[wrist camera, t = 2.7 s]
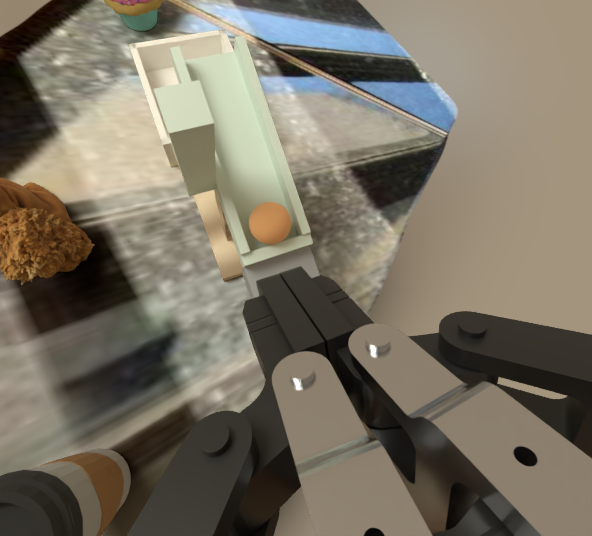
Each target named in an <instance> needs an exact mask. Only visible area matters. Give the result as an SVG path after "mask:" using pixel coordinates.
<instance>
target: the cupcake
mask: <svg viewBox="0 0 592 536" xmlns="http://www.w3.org/2000/svg"><path fill="white" fill-rule="evenodd" d="M104 1H105V3H106V4H107V5H108V6H109V7H110V8H111V9H113V10H114V11H115V12H116V13H118V14H119V15H120V16H121V17H122V19H123V20H124V22H125V23H126V25H127V26H128V27H130V28H131V29H134V30H137V31H146V30H150V29H152V28H153V27H154V26H155V25H156V23H157V11H158V8H159V7H160V5H161V4H162V2H163V0H104Z"/></svg>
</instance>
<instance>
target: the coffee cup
mask: <svg viewBox="0 0 592 536" xmlns="http://www.w3.org/2000/svg"><path fill="white" fill-rule="evenodd" d="M130 484H131V476H130V470H129V467H128V464H127V463H126V461H125V460H124V458H123V457H122V456H121V455H119V454H118V453H117V452H115V451H112V450H109V449H96V450H91V451H88V452H85V453H81V454H76V455H72V456H69V457H66V458H62V459H59V460H56V461H52V462H49V463H46V464H44V465H42V466H40V467H37V468H33V469H30V470H21V471H17V472H12V473H7V474H4V475H2V476H0V536H100V535H101V534H102V532H103V531H104V530H105V529H106V527H107V526H108V524H109V523H110V522H111V520H112V519H113V518H114V516H115V514H116V513H117V511H118V510H119V509H120V507H121V506H122V505H123V503H124V502H125V500H126V497H127V495H128V493H129V489H130Z"/></svg>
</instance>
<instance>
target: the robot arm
mask: <svg viewBox="0 0 592 536" xmlns="http://www.w3.org/2000/svg"><path fill="white" fill-rule="evenodd" d="M256 285H257V289H258V292H259V296H258V297H256V298H253V299H250V300H247V301H245V305H244V309H243V315H244V319H245V322H246V325H247V328H248V331H249V335H250V338H251V341H252V344H253V347H254V350H255V353H256V356H257V358H258V361H259V363H260V366H261V369H262V371H263V374H264V377H265V379H266V382H265V385H264V388H263V390H262V392H261V393H260V395H259V396H258V398H257V399H256V400H255V401H254V402H253V403H252V404H250V405H249V406H248V407H247V408H245V409H244V410H243V411H242V412H240V413H237V412H234V411H220V412H216V413H213V414H211V415H209V416H207V417H205V418H203V419H202V420H201V421H199V422H198V423H197V424H196V425H195V426H194V427H193V428H192V429H191V430H190V432H189V433H188V434H187V436H186V438H185V439H184V441H183V443H182V444H181V446H180V448H179V449H178V451H177V453H176V454H175V456H174V458H173V459H172V461H171V463H170V464H169V466H168V468H167V469H166V471H165V473H164V474H163V476H162V478H161V479H160V481H159V482H158V484H157V486H156V487H155V489H154V491H153V492H152V494H151V496H150V497H149V499H148V501H147V502H146V504H145V506H144V507H143V509H142V511H141V512H140V514H139V516H138V517H137V519H136V521H135V522H134V524H133V526H132V527H131V529H130V531H129V532H128V534H127V536H273V535H274V532H275V528H276V525H277V521H278V518H279V510H280V507H281V506H282V505H283V504H284V503H285V502H286V501H287V500H288V499H289V498H290V497H291V496H292V495H293V494H294V493H295V492H296V491H297V490H298V489H299V488H300V487H302V490H303V494H304V497H305V500H306V504H307V508H308V511H309V515H310V518H311V521H312V525H313V528H314V532H315V536H592V335H590V334H584V333H580V332H574V331H569V330H564V329H559V328H554V327H549V326H543V325H538V324H533V323H528V322H523V321H518V320H512V319H507V318H502V317H496V316H492V315H487V314H481V313H476V312H467V311H463V312H455V313H452V314H449V315H447V316H446V317H444V318H443V319H442V320H441V323H440V325H439V333H435V334H427V335H419V336H407V335H405V334H404V333H403V332H402V331H400V330H399V329H397V328H395V327H393V326H391V325H387V324H380V323H377V324H376V323H374V322H373V321H372V320H371V319H370V318H369V317H368V316H367V315H366V314H365V313H364V312H363V311H362V310H361V309H360V308H359V307H358V306H357V305H356V304H355V302H354V301H353V300H352V299H351V298H349V296H348V295H347V294H346V293H345V292H344V291H342V289H341V288H340V287H339V286H338V285H337V284H336V283H335V281H334V280H331V279H329V278H326V277H324V276H322V275H319V276H316V277H314V278H311V277H310V276H309V275H308V273H307V272H306V271H305V270H304V269H303V268H302V267H301V266H299V267H296V268H293V269H290V270H287V271H284V272H281V273H279V274H275V275H272V276H269V277H266V278H263V279H260V280H257V281H256ZM498 377H501V378H505V379H509V380H513V381H516V382H520V383H524V384H527V385H531V386H534V387H538V388H542V389H546V390H549V391H553V392H556V393H560V394H563V395H567V397H566V398H563V399H549V398H546V397H542V396H539V395H535V394H531V393H528V392H525V391H521V390H517V389H514V388H510V387H507V386H503V385H500V384H497V382H498Z"/></svg>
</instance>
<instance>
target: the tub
mask: <svg viewBox="0 0 592 536" xmlns="http://www.w3.org/2000/svg"><path fill="white" fill-rule="evenodd" d="M129 46H130V49H131V52H132V55H133V58H134V61H135V64H136V67H137V70H138V73H139V76H140V79H141V82H142V85H143V88H144V91H145V93H146V96H147V99H148V102H149V105H150V108H151V111H152V114H153V117H154V120H155V123H156V126H157V129H158V132H159V135H160V137H161V140H162V143H163V146H164V149H165V151H166V154H167V157H168V159H169V162H170V165H171V167H173V166H177V165H179V164H178V161H177V158H176V155H175V152H174V149H173V146H172V143H171V140H170V137H169V134H168V131H167V128H166V125H165V122H164V119H163V116H162V113H161V110H160V107H159V104H158V101H157V98H156V95H155V92H154V89H155V88H160V87H166V86H171V85H176V84H179V82H178V79H177V76H176V73H175V70H174V66H173V61H172V56H171V52H170V48H172V47H178V46H180V49H181V52H182V55H183V58H184V60H188V59H194V58H200V57H205V56H211V55H217V54H223V53H228V52H234V50H233V48H232V46H231V43H230V41H229V39H228V37H227V34H226V32H225V30H224V29H222V30H216V31H210V32H203V33H197V34H191V35H185V36H178V37H172V38H166V39H159V40H153V41H147V42H141V43H134V44H129Z"/></svg>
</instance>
